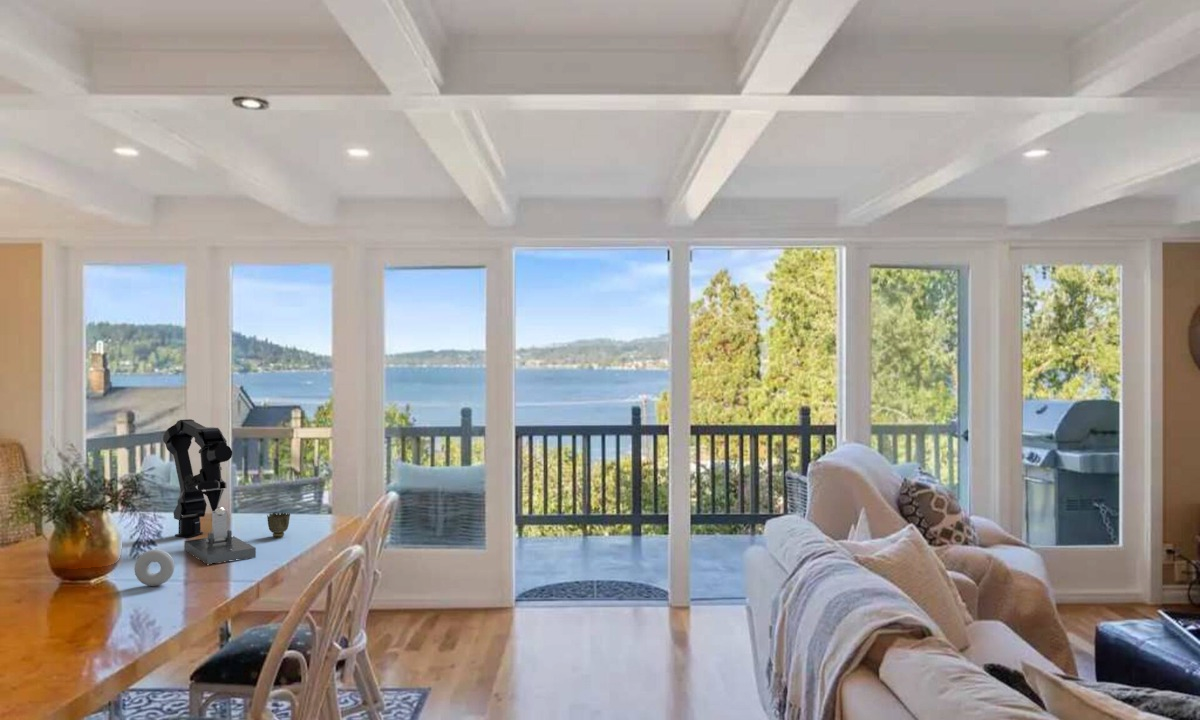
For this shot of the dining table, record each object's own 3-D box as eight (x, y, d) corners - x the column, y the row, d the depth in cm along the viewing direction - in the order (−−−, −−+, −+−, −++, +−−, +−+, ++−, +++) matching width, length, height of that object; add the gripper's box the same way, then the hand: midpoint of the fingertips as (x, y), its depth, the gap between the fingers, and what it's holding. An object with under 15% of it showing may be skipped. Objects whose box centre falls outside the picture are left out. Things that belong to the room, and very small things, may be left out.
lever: (211, 542, 239) (211, 507, 239) (224, 540, 242) (225, 505, 242) (214, 544, 237) (214, 508, 237) (227, 542, 240) (228, 506, 240)
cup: (284, 539, 259) (284, 516, 259) (263, 539, 260) (263, 516, 260) (293, 534, 267) (293, 512, 267) (272, 534, 267) (273, 511, 267)
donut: (176, 583, 208) (176, 547, 208) (171, 586, 205) (172, 550, 205) (137, 584, 206) (137, 548, 206) (131, 588, 203) (132, 551, 203)
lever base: (184, 550, 244) (184, 528, 244) (230, 543, 253) (230, 522, 253) (207, 565, 226) (207, 542, 226) (255, 557, 236) (255, 535, 236)
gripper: (189, 469, 260) (192, 514, 258) (178, 467, 242) (181, 515, 240) (225, 464, 264) (228, 509, 262) (216, 462, 246) (220, 510, 244)
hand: (214, 511), depth 252 cm, fingers closed
